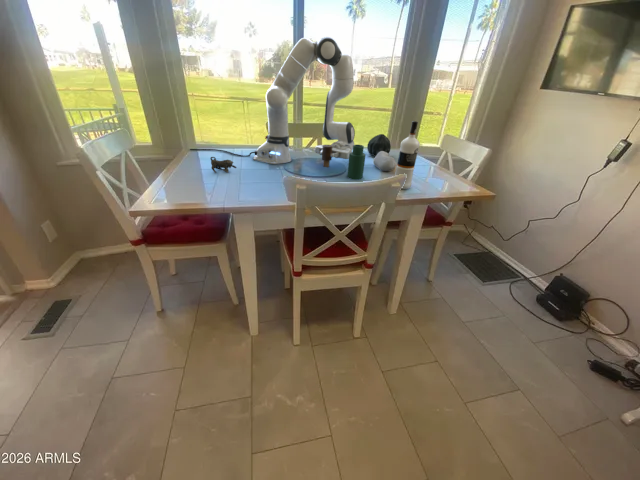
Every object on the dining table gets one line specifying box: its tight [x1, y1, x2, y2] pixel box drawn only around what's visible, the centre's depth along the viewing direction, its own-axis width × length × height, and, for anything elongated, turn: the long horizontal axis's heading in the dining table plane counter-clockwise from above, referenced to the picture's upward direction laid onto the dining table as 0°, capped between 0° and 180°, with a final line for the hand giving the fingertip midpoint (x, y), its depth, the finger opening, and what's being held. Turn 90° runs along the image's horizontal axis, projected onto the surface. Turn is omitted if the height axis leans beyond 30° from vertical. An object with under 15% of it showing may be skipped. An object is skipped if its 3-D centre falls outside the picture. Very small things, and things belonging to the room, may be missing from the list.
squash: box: [366, 133, 392, 157], centre depth 177 cm, size 14×15×15 cm
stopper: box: [321, 144, 333, 168], centre depth 145 cm, size 5×5×11 cm
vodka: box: [394, 120, 421, 190], centre depth 126 cm, size 9×9×30 cm
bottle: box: [346, 144, 366, 181], centre depth 139 cm, size 8×8×16 cm
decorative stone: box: [372, 151, 396, 172], centre depth 156 cm, size 17×10×10 cm
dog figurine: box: [209, 156, 237, 174], centre depth 139 cm, size 12×6×7 cm, turn 94°
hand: (326, 154), depth 144 cm, fingers closed on stopper, 5 cm apart
